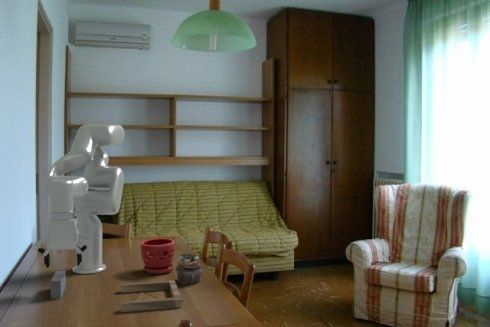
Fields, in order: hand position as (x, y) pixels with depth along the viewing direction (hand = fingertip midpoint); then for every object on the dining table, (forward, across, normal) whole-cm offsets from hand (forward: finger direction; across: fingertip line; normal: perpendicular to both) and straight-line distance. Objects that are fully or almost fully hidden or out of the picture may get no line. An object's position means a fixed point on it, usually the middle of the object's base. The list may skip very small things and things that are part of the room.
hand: (63, 265), depth 149 cm
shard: (+9, -25, +18) cm, 32 cm away
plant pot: (+10, -33, -16) cm, 38 cm away
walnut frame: (+8, -27, +16) cm, 32 cm away
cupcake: (+9, -43, 0) cm, 44 cm away
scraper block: (+8, +1, +3) cm, 9 cm away
